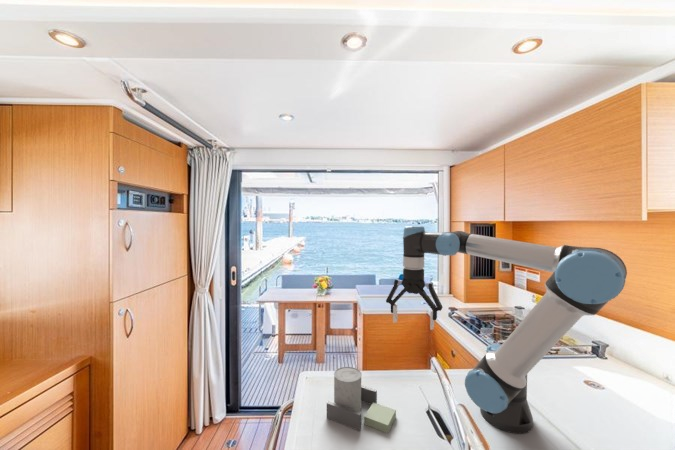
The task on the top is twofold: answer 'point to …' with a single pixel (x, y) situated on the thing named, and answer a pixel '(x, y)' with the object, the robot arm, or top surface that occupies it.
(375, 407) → the block
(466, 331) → the top surface
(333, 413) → the parallel grey rails
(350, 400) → the grey cylindrical piece
